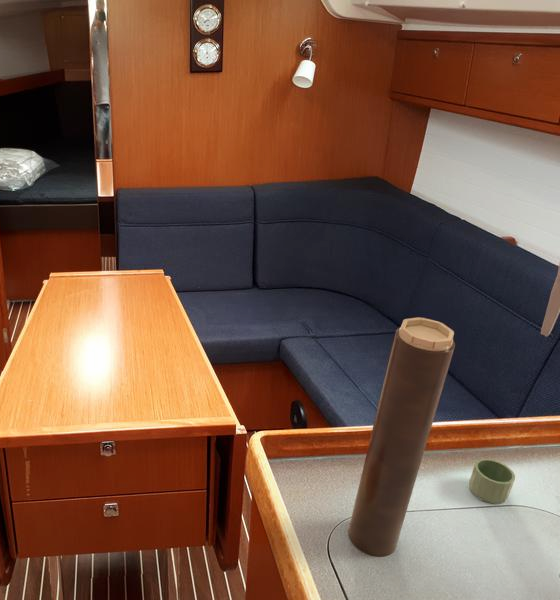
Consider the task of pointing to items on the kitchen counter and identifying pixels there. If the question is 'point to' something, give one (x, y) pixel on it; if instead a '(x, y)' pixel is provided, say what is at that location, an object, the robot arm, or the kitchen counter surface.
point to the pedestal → (397, 445)
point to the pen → (552, 307)
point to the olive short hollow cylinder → (491, 481)
